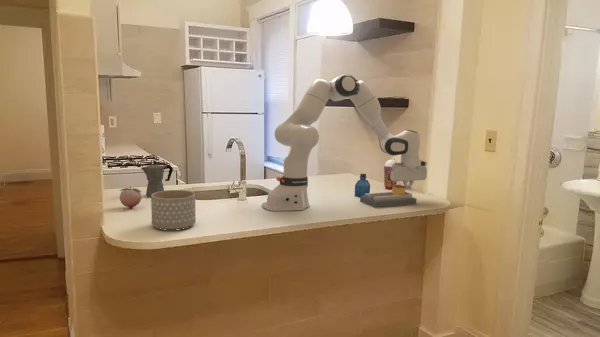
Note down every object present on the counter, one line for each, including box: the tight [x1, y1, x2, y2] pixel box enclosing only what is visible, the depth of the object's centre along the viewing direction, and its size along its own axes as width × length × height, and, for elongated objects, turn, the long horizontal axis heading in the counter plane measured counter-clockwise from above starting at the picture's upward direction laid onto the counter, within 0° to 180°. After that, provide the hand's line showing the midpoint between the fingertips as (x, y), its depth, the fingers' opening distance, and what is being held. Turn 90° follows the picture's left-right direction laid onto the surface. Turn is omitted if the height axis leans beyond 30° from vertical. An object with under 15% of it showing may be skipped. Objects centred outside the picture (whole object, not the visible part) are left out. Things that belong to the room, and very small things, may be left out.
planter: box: [150, 189, 197, 231], centre depth 173 cm, size 16×16×13 cm
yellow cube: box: [391, 184, 406, 195], centre depth 224 cm, size 4×5×5 cm
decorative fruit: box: [119, 185, 142, 209], centre depth 198 cm, size 9×8×10 cm
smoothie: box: [383, 155, 398, 190], centre depth 258 cm, size 8×8×20 cm
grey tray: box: [359, 191, 417, 209], centre depth 222 cm, size 24×14×5 cm, turn 114°
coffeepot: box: [140, 160, 174, 198], centre depth 224 cm, size 15×9×18 cm, turn 116°
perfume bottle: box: [354, 173, 371, 198], centre depth 236 cm, size 6×6×12 cm
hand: (407, 189), depth 226 cm, fingers closed
